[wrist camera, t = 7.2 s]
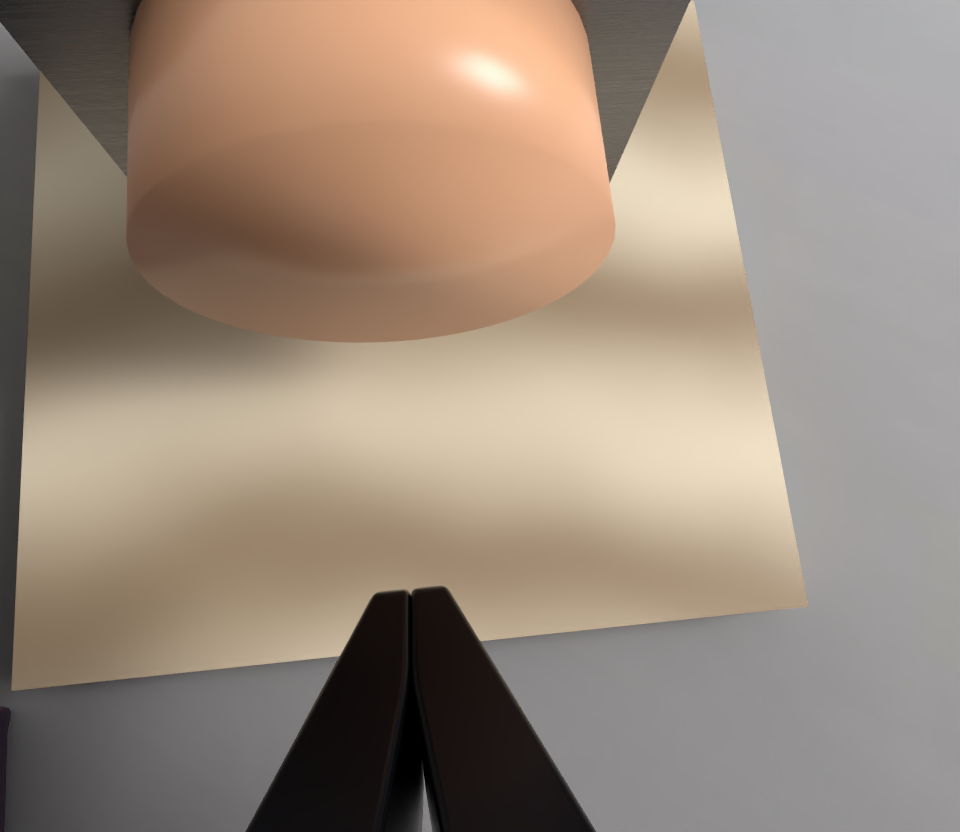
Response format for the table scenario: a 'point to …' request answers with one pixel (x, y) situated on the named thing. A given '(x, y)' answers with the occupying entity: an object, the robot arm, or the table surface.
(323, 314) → the knob
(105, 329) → the birch board
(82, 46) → the knob housing
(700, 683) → the table surface
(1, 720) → the decorative box
